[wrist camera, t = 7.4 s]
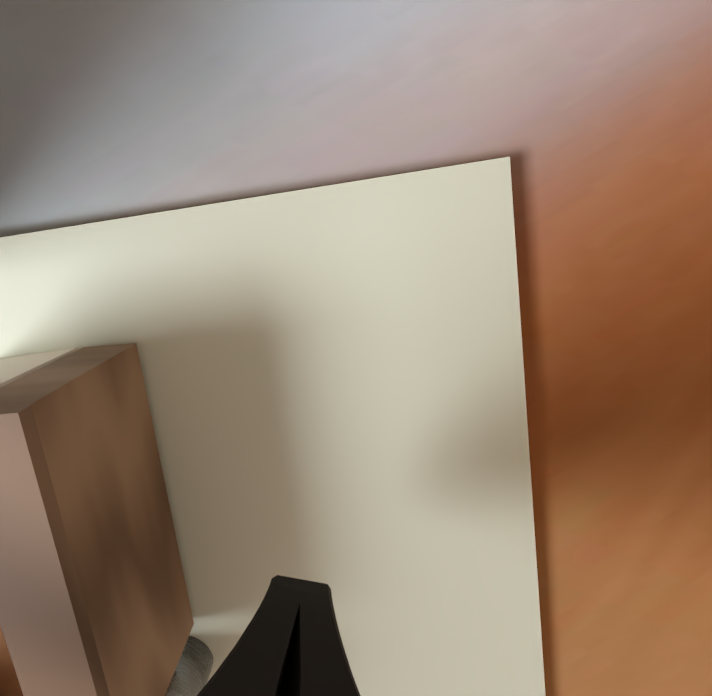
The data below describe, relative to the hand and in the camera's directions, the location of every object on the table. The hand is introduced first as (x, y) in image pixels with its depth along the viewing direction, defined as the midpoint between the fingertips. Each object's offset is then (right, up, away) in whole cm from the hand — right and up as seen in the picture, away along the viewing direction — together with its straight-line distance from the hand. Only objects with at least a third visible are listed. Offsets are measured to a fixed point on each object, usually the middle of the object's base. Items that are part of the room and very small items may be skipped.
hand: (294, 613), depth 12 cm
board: (-2, 0, +6) cm, 6 cm away
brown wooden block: (-5, +2, +4) cm, 7 cm away
